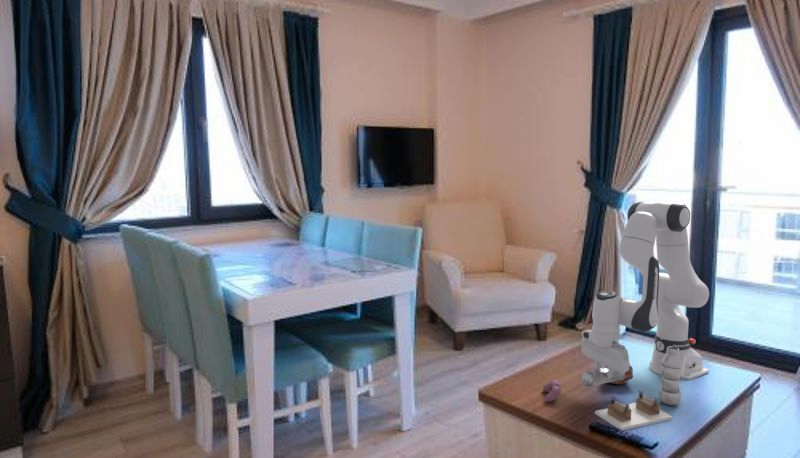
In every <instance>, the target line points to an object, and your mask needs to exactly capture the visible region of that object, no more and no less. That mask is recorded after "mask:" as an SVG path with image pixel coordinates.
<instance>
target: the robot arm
mask: <svg viewBox="0 0 800 458" xmlns="http://www.w3.org/2000/svg"><path fill="white" fill-rule="evenodd" d="M626 217H627V222H626V225H625V227H624V230H623V232H622V236H621V239H620V243H619V254H620V257H621V258H622V260H624V262H625V263H627V264H628V265H630V266H631V267H633V268H635V269H636V270H638V272H640V274H641V275H642V279H643V280H642V292H641V300H640V301H639V300H634V299H630V298H627V297H623V296H619V295H618V293H617V292H615V291H612V290H603V291H599V292H597V293H596V294H595V295H594V299H593V304H592V315H591V317H592V320H593V322H592V323H593V324H592V325H591V326H592V327H591V329H588V330H582V331H581V336H582V338H581V344H580V346H581V347H580V348H581V349H580V350H581V353H582V355H583V356H585V357H588V358H589V359H591V360H593V364H594V367H595V370H598V369H603V367H602V365H604V366H605V367H606V366H607V369H608V372H606V373H605V377H606V378H608V379H610V378H612V373H613V372H614V370H615V371H617V372H619V373H624V372H628V370H629V364H630V358H629V357H630V356H629V351H628V349H627V348H626V346H624V345H623V344H621V343H620V342H619V339H620V338H619V335H620V328H619V325H620V326H623V327H626V328H630V329H631V328H632V329H634V330H637V331H639V332H642V333H647V332H649V331H651V330H653V329H654V328H656V333H655V337H654V344H655V345H654V346H653V351H652V355H651V356H652V357H651V360H650V361H649V364H650V366H649V369H650V370H651V371H652V372H654V373H655V374H658V375H661V376H662V365H661V360H662V358H663V357H664V356H665V355H666V354H667V353H666V351H667V347H668V346H673V347H677V348H679V355H678V356H679V358H680V359H681V361H682V364H683V366H682V371H681V375H680V379H683V380H687V381H688V380H693V379H695V378H698V377H701V376H704V375H706V374H708V373H710V370H709V368H707V366H705V365H703V358H702V357H703V356H701V354H700V353H698V352H697V351H696V350H694V348H692V347H691V344H692V345H695V344H696V339H694V338H692V337H690V338H688V336H689V322H690V321H689V318H688V317H687V315H685V314H684V312H683V311H682V309H681V307H680V306H682V307H685V308H695V309H696V308H702V307H703V306H705V305H706V304H707V302H708V301H709V297H710V290H709V287H708V286H707V284H706V283H704V282H703V281H702V280H701V279H700V278H699V277H698V275H697V273H696V272H695V270H694V269H695V268H694V267H693V265H692V263H691V259H690V249H689V235H688V228H687V227H688V226H689V223H690V222H691V211H690V209H689V207H688V206H687V205H686V204H684V203H681V202H676V201H675V202H672V201H662V200H658V201H657V200H656V201H637V202H634V203H633V204H631V206H630V207H629V208H628V211H627V216H626ZM655 243H656V245H655ZM654 246H656V256H657V258H656V257H655V253H654V248H655V247H654ZM660 266H661V267H662V268H663V269H664V270H665V272H666V273H665V272H660Z"/></svg>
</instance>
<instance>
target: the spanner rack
mask: <svg viewBox="0 0 800 458" xmlns="http://www.w3.org/2000/svg"><path fill="white" fill-rule="evenodd" d="M615 397H616V396H614V395H610V402H609V403H607V408H602V409H598V410H594V414H595V415H596V416H598V417H599V418H601V419H603V420H604V421H605V422H608V423H609V424H610V425H612V426H613V427H615V428H617V429H618V428H619V429H618V430H620V429H621V430H622V431H626V430H630V429H635V428H640V427H645V426H649V425H654V424H658V423H662V422H667V421H670V420H671V421H672V420H673V419H674V418H673V416H672V415H670V414H668V413H667V412H665V411H663V410H662V409H661V408H660V407H661V403H659V398H657V397H654V398H653V399H652V398H651V397H648V396H646V395H645V396H644V391H643V390H641V389H639V390H638V397H636V398H635V399H636V400H635V401H636V402H633V403H625V404H623V403H621V402H619V401H615ZM621 430H620V431H621Z"/></svg>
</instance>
